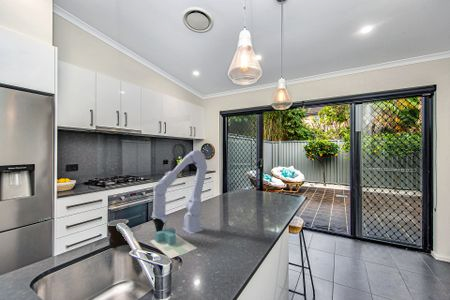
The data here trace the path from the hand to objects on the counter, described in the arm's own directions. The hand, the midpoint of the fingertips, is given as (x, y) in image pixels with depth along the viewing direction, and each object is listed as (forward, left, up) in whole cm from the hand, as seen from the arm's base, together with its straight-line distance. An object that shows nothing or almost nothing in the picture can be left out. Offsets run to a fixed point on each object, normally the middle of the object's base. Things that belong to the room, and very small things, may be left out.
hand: (159, 232), depth 99 cm
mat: (+14, 0, -1) cm, 14 cm away
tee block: (+10, 0, -1) cm, 10 cm away
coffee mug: (-2, -19, -2) cm, 19 cm away
